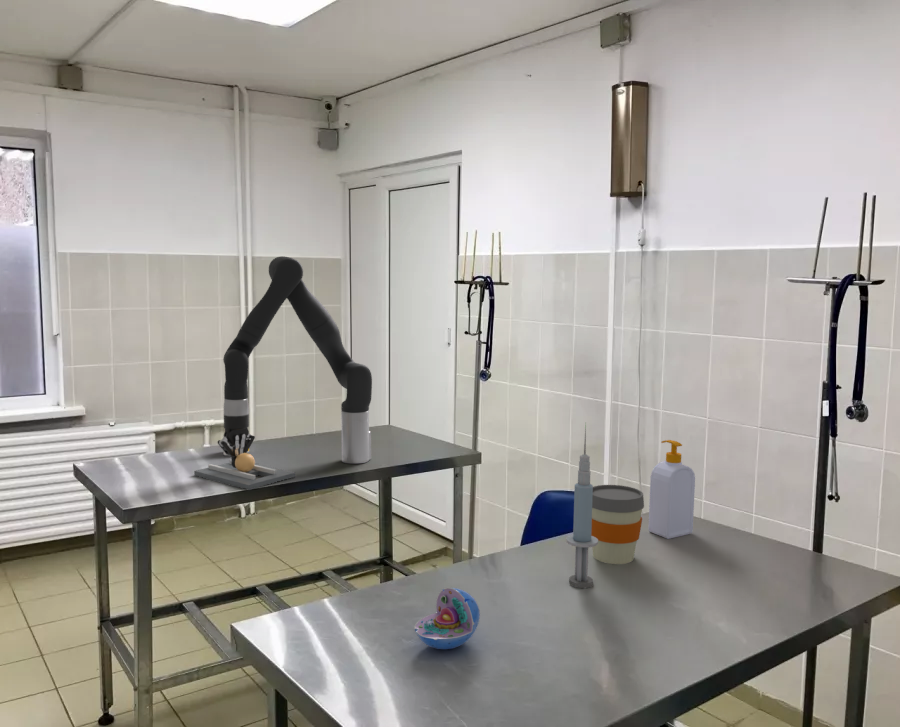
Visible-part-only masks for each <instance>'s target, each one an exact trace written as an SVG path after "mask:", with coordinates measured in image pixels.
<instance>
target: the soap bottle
mask: <svg viewBox="0 0 900 727" xmlns="http://www.w3.org/2000/svg"><path fill="white" fill-rule="evenodd" d="M663 443H664V444H665V443H669V444H670V448H671V449H670V451H668V452H666V453H665V460H663V461H660V462H658V463H657V464H655V466H654V467H653V469H652V470H651V474H650V482H649V484H650V485H649V505H648V507H649V508H648V532H650V533H652V534H655V535H657V536H660V537H662V538H665V539H667V540H670V539H673V538H678V537H682V536H687V535H690V534H692V533H693V530H694V509H695V491H696V490H695V487H696V476H695V472H694V470H693V469H692V467H690V466H687V465H685V464H683V462H682V453H680V452H678V448H679V447H682V446H683V444H682V443H681V442H679V441H677V440H671V439H667V440H666V439H665V440H662V441H661V444H663Z"/></svg>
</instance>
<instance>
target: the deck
mask: <svg viewBox="0 0 900 727" xmlns="http://www.w3.org/2000/svg"><path fill="white" fill-rule="evenodd" d="M193 473H194V474H193V475H194V477H198V476H199V478H202V477H203V478H202V479H205V478H207V479H206V480H209V479H210V481H213V480H214V481H213V482H216V483H217V482H218V483H220V482H221V484H224V483H226V484H225V485H228V484H230V485H229V486H232V485H233V486H232V487H235V486H238V487H237V488H239V487H242V488H241V489H243V488H246V489H245V490H247V489H248V490H247V491H251V490H254V489H257V487H258V488H261V487H263V486H262V485H265V486H267V485H266V484H269V485H272V484H275V483H274V482H276V483H278V482H277V481H280V482H282V481H281V480H283V481H285V480H284V479H287V480H289V479H288V478H291V477H294V478H296V472H294V471H291V470H286V469H282V468H277V467H274V466H273V467H272V466H269V465H265V464H260V463H256V462H255V465H254V467H253V469H252V470H251V471H249V472H241V471H239V470H237V468H234V467H233V466H232V458H230V459H229V460H228V462H227V463H222V464H218V465H215V464H212V463H210V464H208V467H204V468H201V469H197V470H194V472H193ZM258 475H261V476H260V477H259V478H257V477H258ZM263 476H264V477H263ZM291 479H292V478H291ZM271 483H272V484H271ZM260 486H261V487H260Z"/></svg>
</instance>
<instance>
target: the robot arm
mask: <svg viewBox="0 0 900 727" xmlns="http://www.w3.org/2000/svg"><path fill="white" fill-rule="evenodd" d="M268 275H269V278H270V279H271V282H270V283H269V287H268V288H267V290H266V292H265V294H263V296H262V298H261V299H260V300H259V301H258V303H256V305H255V306H254V307H253V308H252V309H251V311H250V312H249V314H248V315H247V317H246V318H245V320H244V321H243V323H242V325H241V327H240V328H239V331H238V332H237V335H236V336H235V338H234V339H233V341H232V342H231V343H230V345H229V346H228V348H226V351H225V352H224V354H223V359H222V360H223V364H224V372H225V373H224V375H225V376H224V378H225V382H224V386H223V387H224V388H223V390H224V392H223V395H224V397H223V398H224V401H223V428H224V433H223V435H224V438H223V437H222V439H220V440H219V439H218V441H217V445H219V447H220V448H221V450H222V451H224V452H225V453H226V454H227V455H226V456H231V459H232V466H233V467H234V468H236V466H235V460H236V458H237V456H238V455H240V454H242V453H246V452H247V451H248V449H249V450H250V449H251V446H252V444H253V442H254V440H255V439H256V436H255V435H252V434H250V431H249V427H250V419H249V418H250V413H249V412H250V408H249V407H250V406H249V399H248V397H249V394H248V393H249V391H248V389H249V388H248V387H249V386H248V375H249V357H250V356H251V354H252V352H253V351H254V349H255V347H257V345H259V344H260V342H261V340H262V338H263V337H264V335H265V333H266V332H267V331H268V327H269V326H270V324H271V323H272V320H274V318H275V316H276V314H277V313H278V311H279V310H280V308H281V306H283V304H284V303H285V301H286V300H287V301H288V302H289V303H290V305H291V307H292V309H293V310H294V312H295V314H296V316H297V318H298V319H299V322H300V323H301V324H302V326H303V328H304V329H305V331H306V333H307V334H308V335H309V337H310V339H311V340H312V341H313V342H314V344H315V345H316V346H317V348H318V349H319V350H318V351H320V352H321V354H322V355H323V356H324V358H325V360H326V361H327V363H328V365H329V367H330V368H331V370H332V373H333V374H334V376H335V378H336V380H337V382H338V383H339V385H340V386H341V387H342V388H344V389H346V398H345V400H344V401H342V402H341V404H340V405H341V406H340V409H341V412H340V413H341V414H340V415H341V418H340V419H341V462H342V463H345V464H353V465H354V464H356V465H357V464H364V463H368V462H369V461H370V460H372V431H370V405H371V403H372V402H371V401H372V393H373V390H372V388H373V376H372V372H371V369H370V368H369V367H368V366H367V365H365V364H362V363H357V362H355V361H354V360H353V359H352V357H351V356H350V355H349V353H348V351H347V350H346V349H345V347H344V345H343V342H342V338H341V333H340V329H339V327H338V324H337V323H336V322H335V320H334V319H333V317H332V315H331V314H330V313H329V311H328V309H326V307H325V306H324V305H323V304H322V302H320V300H319V299H318V298H316V296H315V295H314V294H313V293H312V292H311V291H310V290H309V288H308V287H307V285H306V283H305V281H304V280H303V276H304V268H303V266H302V264H301V263H300V261H298V260H297V259H295V258H292V257H288V256H277V257H274V258H273V259H272V260H271V261H270V263H269V265H268ZM228 443H229V446H228V445H227V444H228ZM248 452H249V451H248ZM248 452H247V453H248Z"/></svg>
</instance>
